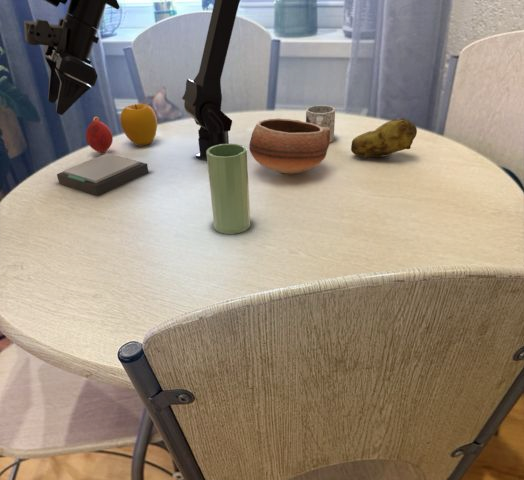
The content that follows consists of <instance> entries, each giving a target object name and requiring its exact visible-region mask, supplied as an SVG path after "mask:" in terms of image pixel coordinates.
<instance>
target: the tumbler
mask: <svg viewBox="0 0 524 480" xmlns="http://www.w3.org/2000/svg"><path fill="white" fill-rule="evenodd" d="M206 152H207V160H206V162H207V170H208V182H209V191H210V200H211V202H210V203H211V210H212V211H211V213H212V221H213V228H214V230H215V231H216V232H217V233H221V234H225V235H235V234H240V233H244V232H245V231H247V230H248V229H249V228H251V227H250V226H251V210H250V208H251V207H250V189H249V188H250V187H249V168H248V149H247V148H246V146H243V145H242V144H238V143H229V144H220V145H215V146H212V147H210V148H209V149H208V150H207V151H206Z"/></svg>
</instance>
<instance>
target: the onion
mask: <svg viewBox="0 0 524 480" xmlns="http://www.w3.org/2000/svg"><path fill="white" fill-rule="evenodd" d="M113 139H114V137H113V133H112V130H111V128H110V127H109V126H108V125H106V123H104V122H102V121H100V117H98V116H94V117H93V119H92V122H91V123H89V124H88V127H87V128H86V132H85V140H86V142H87V144H88V146H89V147H90V148H91V149H92V150H94V151H95V152H98V153H99V154H101V155H104V154H106V153H107V151H108V149H110V148H111V146H112V145H113Z"/></svg>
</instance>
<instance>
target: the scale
mask: <svg viewBox="0 0 524 480" xmlns="http://www.w3.org/2000/svg"><path fill="white" fill-rule="evenodd" d="M149 173H150V172H149V166H148V163H146V162H142V161H139V160H137V159H132V158H128V157H125V156H120V155H117V154H113V153H109V152H105V153H103V154H101V155H99V156H96V157H93V158H92V159H89V160H86V161H83V162H82V163H79V164H76V165H73V166H71V167H69V168H67V169H64V170H62V171H61V172H59V173H57V174H56V176H57V181H58V184H60V185H63V186H65V187H69V188H72V189H75V190H77V191H81V192H85V193H86V194H87V193H88V194H91V195H93V196H97V197H99V196H101V195H104V194H106V193H109V192H110V191H112V190H114V189H116V188H119V187H121V186H123V185H125V184H127V183H129V182H131V181H134V180H136V179H139V178H141V177H142V176H145V175H147V174H149Z"/></svg>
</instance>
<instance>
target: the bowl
mask: <svg viewBox="0 0 524 480" xmlns="http://www.w3.org/2000/svg"><path fill="white" fill-rule="evenodd" d="M330 143H331V142H330V129H329V128H328V127H321V126H318V125H316V124H312V123H308V122H306V121H302V120H298V119H290V118H268V119H263V120H259V121H258V122H257V123H256V124H255V126H254V128H253V130H252V133H251V136H250V140H249V147H248V149H249V152H250V154H251V156H252V157H253V159H254V160H255V161H256V163H259V164H260V165H261V166H263V167H265V168H266V169H268V170H272V171H274V172H277V173H281V174H298V173H299V174H300V173H303V172H306V171H308V170H311V169H313V168H314V167H316V166H318V165H319V164H321V163H322V162H323V161H324V159H326V156H327V154H328V149H329V147H330Z"/></svg>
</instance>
